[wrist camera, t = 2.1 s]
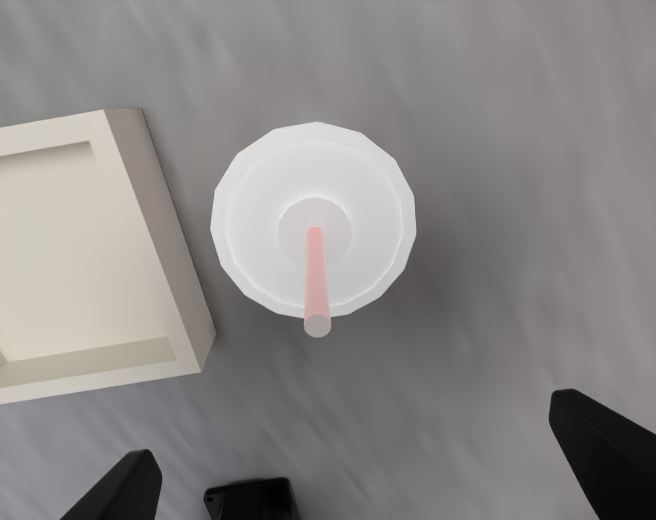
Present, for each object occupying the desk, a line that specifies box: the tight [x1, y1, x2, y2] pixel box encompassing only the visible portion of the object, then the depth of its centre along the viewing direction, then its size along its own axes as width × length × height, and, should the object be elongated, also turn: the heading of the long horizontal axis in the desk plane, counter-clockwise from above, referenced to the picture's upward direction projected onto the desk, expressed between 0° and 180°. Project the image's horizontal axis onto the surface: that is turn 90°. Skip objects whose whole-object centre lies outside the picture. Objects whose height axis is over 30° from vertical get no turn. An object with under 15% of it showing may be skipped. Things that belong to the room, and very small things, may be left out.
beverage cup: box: [210, 122, 416, 338], centre depth 13 cm, size 6×6×14 cm
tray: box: [0, 108, 217, 404], centre depth 19 cm, size 13×13×4 cm
